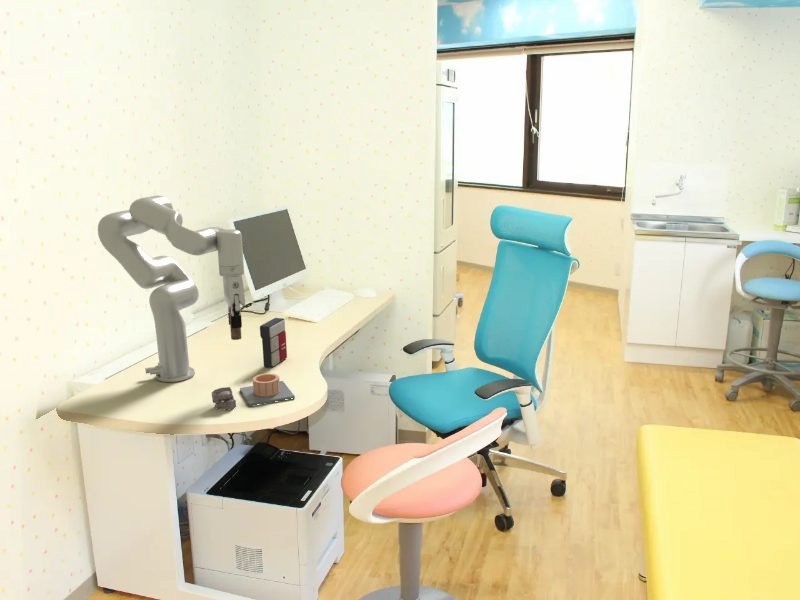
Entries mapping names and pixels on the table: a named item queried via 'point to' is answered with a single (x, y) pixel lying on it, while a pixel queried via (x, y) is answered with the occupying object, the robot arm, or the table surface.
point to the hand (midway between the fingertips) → (235, 325)
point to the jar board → (266, 390)
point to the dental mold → (223, 398)
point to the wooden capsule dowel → (236, 331)
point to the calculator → (273, 341)
